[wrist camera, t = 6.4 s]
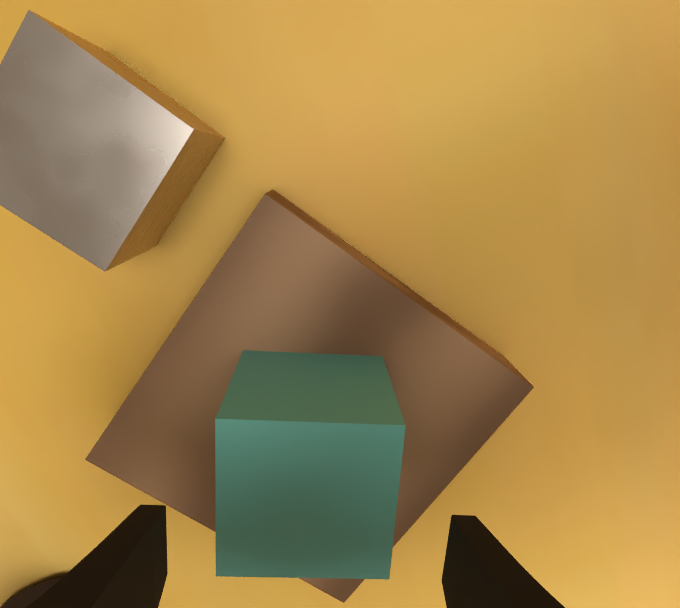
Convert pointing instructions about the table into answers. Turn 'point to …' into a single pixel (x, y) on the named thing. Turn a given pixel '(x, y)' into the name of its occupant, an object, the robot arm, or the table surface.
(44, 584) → the two-way radio
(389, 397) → the teal cube
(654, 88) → the table surface
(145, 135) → the steel cube
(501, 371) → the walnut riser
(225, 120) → the table surface
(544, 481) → the table surface
